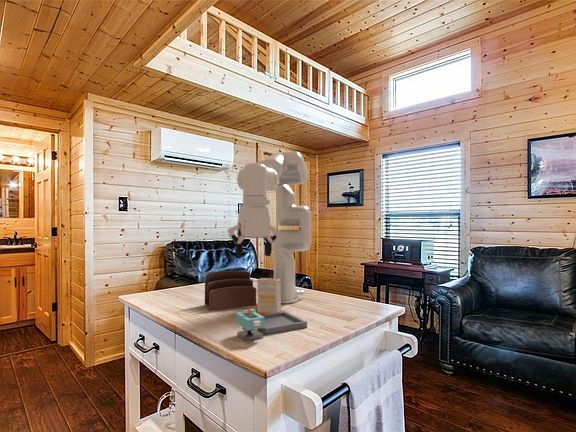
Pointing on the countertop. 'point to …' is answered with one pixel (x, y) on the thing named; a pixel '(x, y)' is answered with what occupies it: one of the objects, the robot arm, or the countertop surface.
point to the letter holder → (229, 290)
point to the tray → (281, 323)
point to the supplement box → (269, 295)
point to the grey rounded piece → (249, 334)
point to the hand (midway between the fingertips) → (253, 256)
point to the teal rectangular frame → (250, 321)
